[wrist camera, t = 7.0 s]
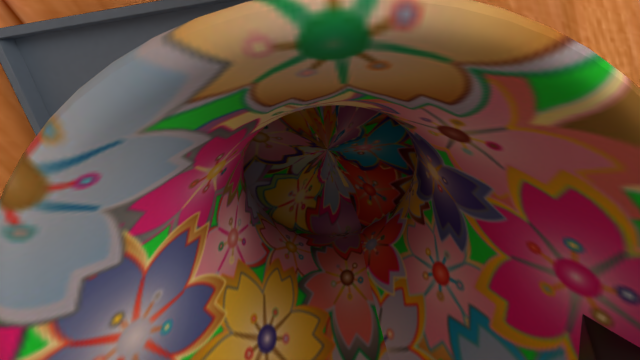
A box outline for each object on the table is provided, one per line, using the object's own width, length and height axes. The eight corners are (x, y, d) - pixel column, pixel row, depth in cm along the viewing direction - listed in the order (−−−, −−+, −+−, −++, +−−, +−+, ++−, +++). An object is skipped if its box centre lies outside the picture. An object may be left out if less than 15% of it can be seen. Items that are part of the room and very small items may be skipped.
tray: (366, -31, 24) (370, -37, 22) (384, 186, 31) (388, 196, 29) (9, 31, 26) (-16, 30, 24) (99, 226, 32) (85, 238, 30)
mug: (172, 89, 13) (-221, 230, 4) (395, -21, 12) (743, -280, 2) (301, 304, 18) (282, 636, 8) (477, 242, 16) (718, 553, 6)
